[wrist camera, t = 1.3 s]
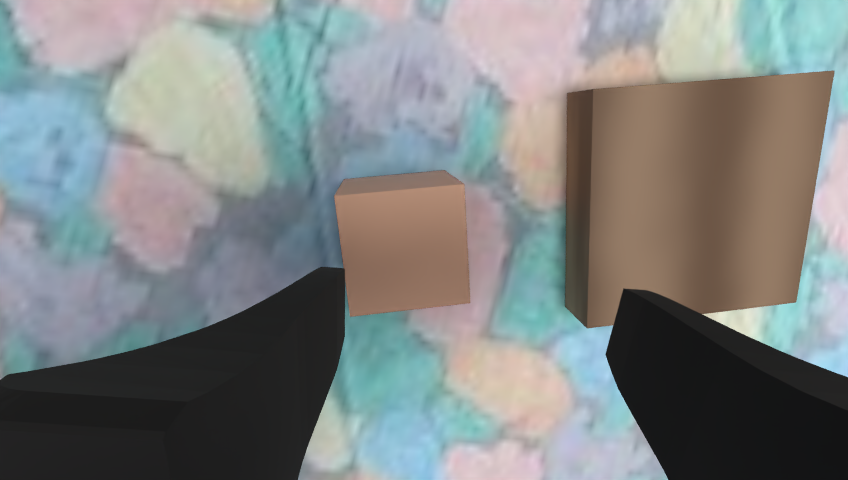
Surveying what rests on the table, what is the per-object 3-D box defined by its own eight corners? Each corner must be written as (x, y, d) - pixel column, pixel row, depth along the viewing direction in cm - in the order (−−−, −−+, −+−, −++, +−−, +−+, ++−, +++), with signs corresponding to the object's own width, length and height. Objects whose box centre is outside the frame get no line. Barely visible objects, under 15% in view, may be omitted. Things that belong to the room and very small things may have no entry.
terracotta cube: (355, 274, 22) (350, 316, 17) (344, 178, 21) (334, 196, 16) (450, 264, 22) (470, 303, 17) (444, 169, 21) (464, 184, 16)
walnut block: (561, 303, 24) (587, 328, 21) (563, 93, 21) (593, 89, 18) (747, 281, 25) (796, 302, 22) (774, 77, 22) (834, 70, 19)
